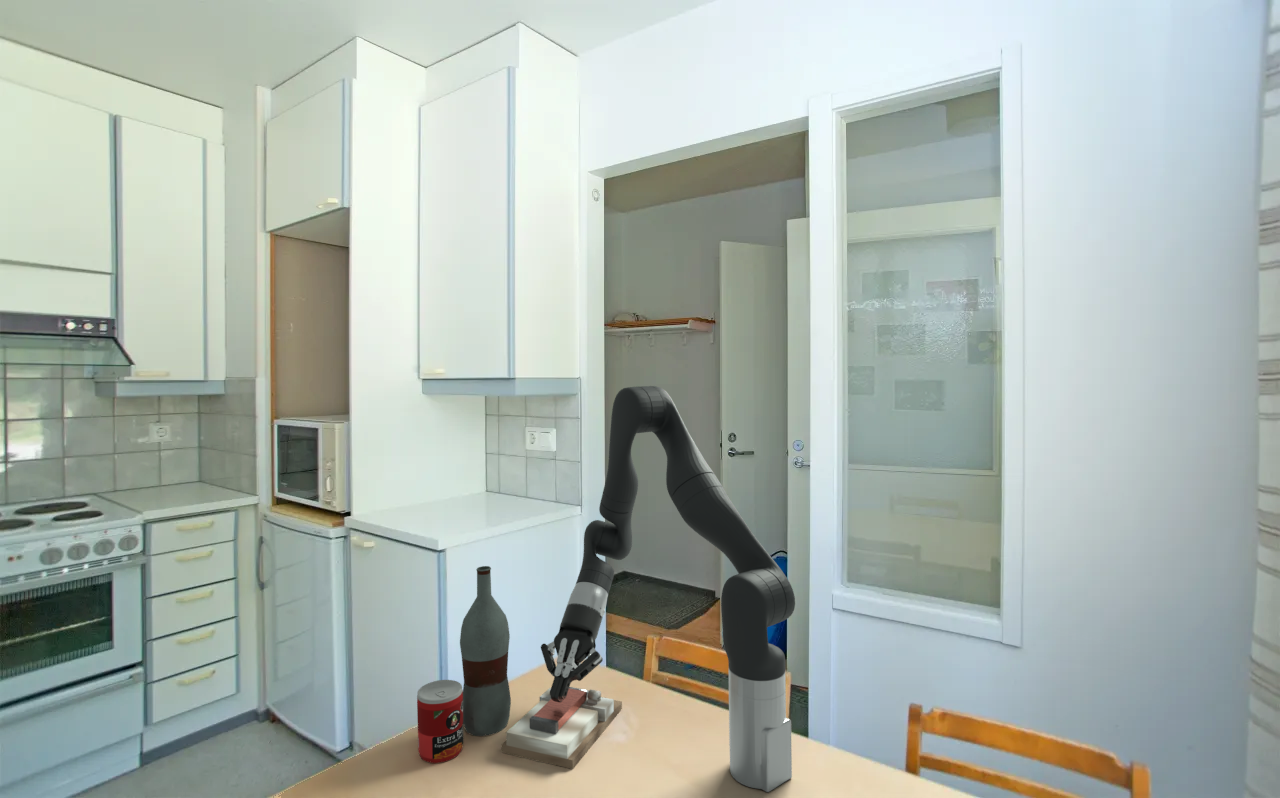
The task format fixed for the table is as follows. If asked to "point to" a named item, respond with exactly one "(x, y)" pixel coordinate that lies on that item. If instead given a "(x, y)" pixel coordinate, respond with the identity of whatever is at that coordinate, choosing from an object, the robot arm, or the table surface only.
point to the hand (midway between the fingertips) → (556, 700)
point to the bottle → (485, 662)
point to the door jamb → (562, 732)
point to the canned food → (440, 720)
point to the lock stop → (558, 711)
